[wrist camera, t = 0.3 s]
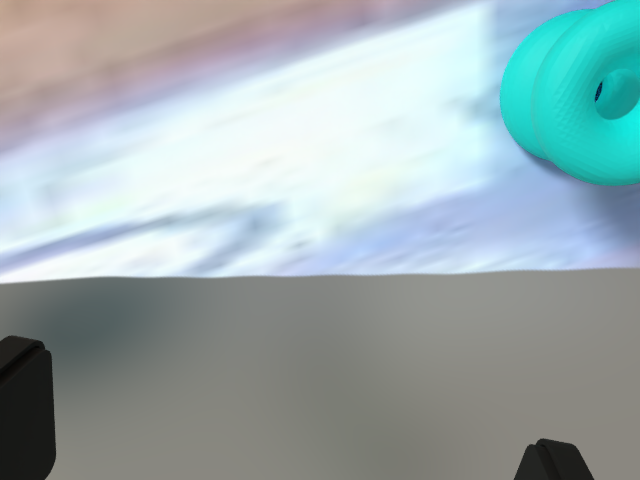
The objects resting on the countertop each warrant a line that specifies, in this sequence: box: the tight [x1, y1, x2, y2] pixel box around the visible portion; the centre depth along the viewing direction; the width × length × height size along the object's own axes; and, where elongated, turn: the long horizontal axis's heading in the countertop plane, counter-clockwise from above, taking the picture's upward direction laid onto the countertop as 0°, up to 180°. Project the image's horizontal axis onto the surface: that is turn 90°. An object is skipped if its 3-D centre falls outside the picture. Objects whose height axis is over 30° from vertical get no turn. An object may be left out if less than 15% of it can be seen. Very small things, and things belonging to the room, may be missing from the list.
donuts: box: [500, 0, 640, 186], centre depth 30 cm, size 10×10×10 cm
